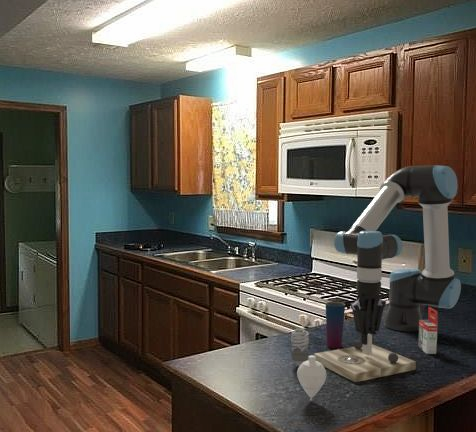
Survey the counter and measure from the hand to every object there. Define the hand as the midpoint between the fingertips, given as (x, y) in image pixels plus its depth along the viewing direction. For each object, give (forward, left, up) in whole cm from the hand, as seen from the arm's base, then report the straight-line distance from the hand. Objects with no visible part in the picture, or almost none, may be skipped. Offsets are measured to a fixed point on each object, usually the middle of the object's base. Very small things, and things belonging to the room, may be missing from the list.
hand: (367, 353), depth 169 cm
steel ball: (+7, 0, -2) cm, 7 cm away
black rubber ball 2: (-4, +8, 0) cm, 8 cm away
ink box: (-29, -2, -4) cm, 29 cm away
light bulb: (+20, -8, -4) cm, 22 cm away
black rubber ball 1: (-3, -7, 0) cm, 8 cm away
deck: (+1, 0, -3) cm, 4 cm away
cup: (-3, -20, -4) cm, 20 cm away
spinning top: (+32, +15, -4) cm, 36 cm away
